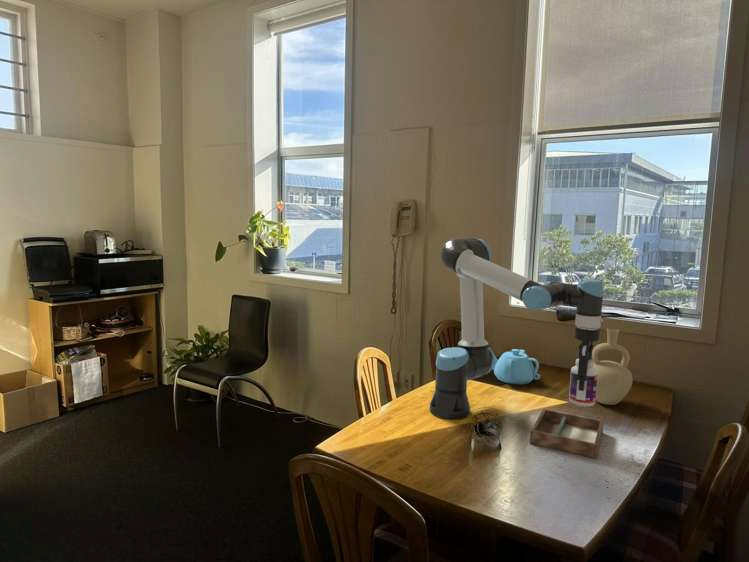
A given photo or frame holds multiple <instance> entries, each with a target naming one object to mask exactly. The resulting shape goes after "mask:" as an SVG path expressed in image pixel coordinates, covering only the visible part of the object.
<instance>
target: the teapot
mask: <svg viewBox="0 0 749 562" xmlns="http://www.w3.org/2000/svg"><path fill="white" fill-rule="evenodd" d="M493 354H494V352H493ZM494 358H495V362H494V366H493V368H492V371H493V373H494V375H495V377H496V378H497V379H498V381H500V382H502V383H506V384H511V385H527V384H530V383H531V382H532V381H533V380H535V381H537V380H540V378H541V375H540V374H539V373H537V372H538V371H539V368H540V367H539V366H540V362H539V361H538V360H537V359H536V358H534V357H529V356H528V355H527V354H526V350H525V349H516V348H513V349H511V351H505V352H504V353H502V354H501V356H500V357H499V358H498V359H497V357H496V355H495V354H494ZM532 361H533V362H534V363H535V368H534V365H533V362H532Z"/></svg>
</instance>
